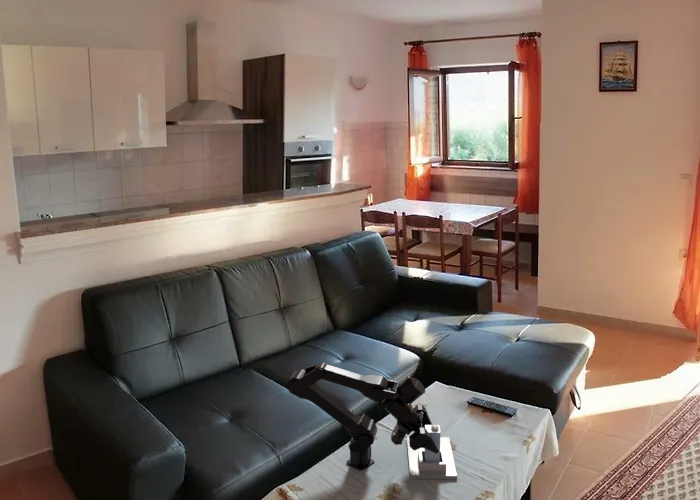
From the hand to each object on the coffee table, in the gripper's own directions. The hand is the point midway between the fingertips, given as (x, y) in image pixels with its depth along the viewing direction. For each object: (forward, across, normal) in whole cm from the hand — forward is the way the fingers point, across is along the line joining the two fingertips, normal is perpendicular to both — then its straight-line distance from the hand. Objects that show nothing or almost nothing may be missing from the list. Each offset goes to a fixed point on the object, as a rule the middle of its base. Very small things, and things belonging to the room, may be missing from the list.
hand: (436, 444), depth 199 cm
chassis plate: (+5, -5, -7) cm, 9 cm away
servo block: (+4, 0, -6) cm, 7 cm away
